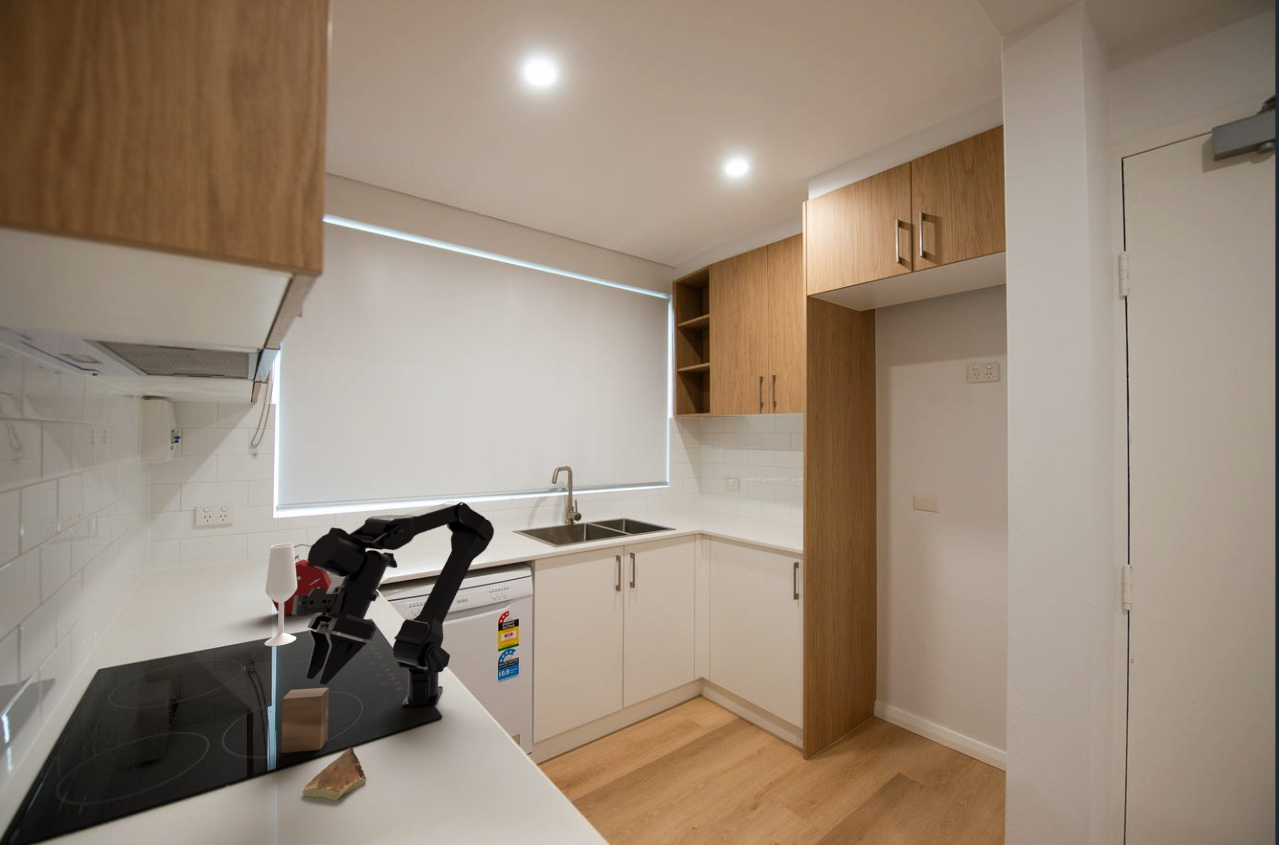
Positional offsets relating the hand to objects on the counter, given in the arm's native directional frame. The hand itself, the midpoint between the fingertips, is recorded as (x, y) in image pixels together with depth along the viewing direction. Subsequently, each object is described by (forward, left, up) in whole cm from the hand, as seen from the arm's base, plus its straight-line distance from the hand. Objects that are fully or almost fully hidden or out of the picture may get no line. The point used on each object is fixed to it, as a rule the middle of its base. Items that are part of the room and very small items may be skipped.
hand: (315, 681), depth 87 cm
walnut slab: (-6, -4, -13) cm, 15 cm away
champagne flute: (-55, -30, -14) cm, 64 cm away
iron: (-94, -28, -14) cm, 99 cm away
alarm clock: (-75, -34, -14) cm, 83 cm away
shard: (+4, +4, -14) cm, 15 cm away
